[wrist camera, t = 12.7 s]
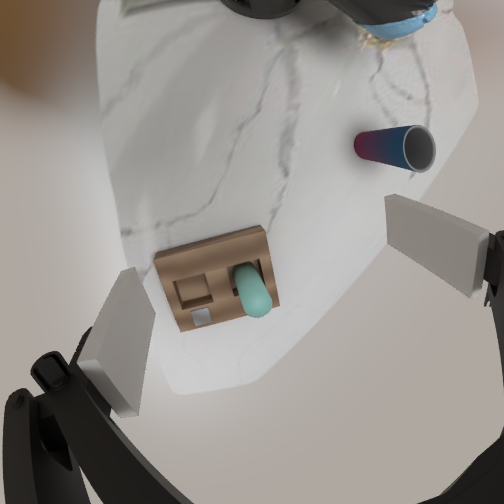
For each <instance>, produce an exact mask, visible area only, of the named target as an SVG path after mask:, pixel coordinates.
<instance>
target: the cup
mask: <svg viewBox="0 0 504 504" xmlns="http://www.w3.org/2000/svg"><path fill="white" fill-rule="evenodd" d="M354 148H355V151H356V153H357V154H358V156H359V157H361V158H363V159H367V160H371V161H375V162H380V163H384V164H388V165H392V166H396V167H400V168H404V169H408V170H412V171H415V172H420V173H421V172H425V171H427V170H428V169H430V167H431V166H432V164H433V162H434V160H435V155H436V147H435V142H434V139H433V137H432V135H431V133H430V132H429V131H428V130H427V129H426V128H425V127H423V126H421V125H412V126H404V127H396V128H389V129H382V130H375V131H369V132H363V133H360V134H359V135H358V136H357V137H356V139H355V142H354Z"/></svg>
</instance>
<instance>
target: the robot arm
mask: <svg viewBox="0 0 504 504" xmlns="http://www.w3.org/2000/svg"><path fill="white" fill-rule="evenodd" d="M301 1H302V0H222V2H223V3H224V4H225V5H226V6H228V7H229V8H230V9H232V10H233V11H235V12H237V13H239V14H242V15H245V16H248V17H252V18H258V19H273V18H279V17H282V16H285V15H287V14H289V13H291V12H292V11H293V10H294V9H295V8H296V7H297V6H298V5H299V4H300V2H301ZM326 1H328V2H329V3H331V4H332V5H334V6H335V7H337V8H338V9H339V10H341V11H342V12H343V13H345V14H346V15H348V16H349V17H350V18H352V19H353V21H354V22H355V23H356V24H357V25H359V26H362V27H363V28H365V29H366V30H367V31H369V32H370V33H371V34H372V35H374V36H376V37H378V38H382V39H396V38H401V37H404V36H406V35H409V34H411V33H413V32H415V31H417V30H419V29H421V28H422V27H423V26H424V24H425V23H428V22H430V21H431V20H432V19H433V18H434V17H435V15H436V13H437V6H436V3H435V2H436V1H438V0H326ZM384 199H385V210H386V224H387V243H388V244H389V245H390V246H392V247H394V248H395V249H397V250H398V251H400V252H402V253H403V254H405V255H406V256H408V257H409V258H411V259H413V260H414V261H416V262H417V263H419V264H420V265H422V266H423V267H425V268H426V269H428V270H429V271H431V272H432V273H434V274H435V275H437V276H438V277H440V278H441V279H443V280H444V281H446V282H447V283H449V284H450V285H452V286H453V287H455V288H456V289H457V290H459V291H460V292H461V293H463V294H464V295H465V296H467V297H468V298H470V299H471V298H473V297H474V296H476V295H477V294H479V293H480V292H481V289H482V284H483V279H484V280H486V281H487V282H489V283H488V288H487V293H486V298H485V302H484V306H486V305H487V302H488V301H490V305H489V306H490V307H491V308H492V312H493V317H494V322H495V326H496V331H497V338H498V344H499V350H500V357H501V364H502V374H503V384H504V230H503V231H499V232H497V233H496V234H495V235H493V234H491V233H489V230H486V229H484V228H482V227H480V226H477V225H475V224H473V223H470V222H468V221H466V220H463V219H461V218H458V217H456V216H453V215H451V214H448V213H446V212H444V211H441V210H438V209H435V208H433V207H430V206H428V205H425V204H422V203H420V202H417V201H414V200H411V199H409V198H406V197H403V196H400V195H397V194H393V195H389V196H385V197H384ZM155 315H156V313H155V311H154V309H153V307H152V305H151V303H150V300H149V298H148V296H147V294H146V292H145V289H144V287H143V285H142V282H141V280H140V278H139V275H138V273H137V271H136V268H135V267H133V268H130V269H127V270H123V271H121V273H120V275H119V276H118V278H117V280H116V282H115V284H114V286H113V287H112V289H111V291H110V293H109V295H108V297H107V299H106V301H105V303H104V305H103V307H102V309H101V311H100V313H99V315H98V317H97V319H96V321H95V323H94V325H93V327H90V328H89V329H88V330H87V331H86V332H85V333H84V335H83V336H82V338H81V340H80V342H79V345H78V346H77V349H76V352H75V353H74V355H73V357H72V359H71V362H70V364H69V365H68V364H67V362H66V361H65V359H64V358H63V356H62V355H61V354H60V353H59V352H58V351H52V352H49V353H46V354H44V355H43V356H41V357H40V358H39V359H38V360H37V361H36V362H35V363H34V365H33V366H32V368H31V376H32V377H33V378H34V380H35V381H36V382H37V384H38V385H39V386H40V387H41V389H42V390H43V391H44V392H45V393H44V394H41V395H39V396H36V397H33V396H32V394H31V393H30V392H29V391H28V390H27V389H26V388H21V389H18V390H16V391H15V392H13V393H12V394H11V395H10V396H9V398H8V400H7V402H6V405H5V412H4V425H3V480H4V494H5V503H6V504H91V503H90V500H89V497H88V494H87V491H86V488H85V484H84V481H83V478H82V474H81V471H80V468H81V469H82V471H83V473H84V474H85V476H86V478H87V479H88V481H89V482H90V484H91V486H92V487H93V489H94V490H95V492H96V493H97V495H98V496H99V498H100V499H101V501H102V502H103V504H194V503H192V502H191V501H190V500H189V499H188V498H187V497H185V496H184V495H183V494H182V493H181V492H180V491H179V490H178V489H176V488H175V487H174V486H173V485H172V484H171V483H170V482H169V481H168V480H167V479H165V477H164V476H163V475H162V474H161V473H160V472H159V471H158V470H157V469H156V468H154V466H153V465H152V464H150V462H149V461H148V460H147V459H146V458H145V457H144V456H143V455H142V454H141V453H140V451H139V450H138V449H137V448H136V447H135V446H134V445H133V444H132V443H131V441H130V440H129V439H128V438H127V437H126V436H125V434H124V433H123V432H122V431H121V429H120V428H119V427H118V426H117V425H116V423H115V422H114V421H113V420H112V419H111V418H110V412H111V408H112V409H113V410H114V411H115V413H116V414H117V415H118V416H119V417H120V418H124V417H133V416H138V415H139V408H140V401H141V394H142V387H143V380H144V374H145V368H146V362H147V356H148V351H149V345H150V340H151V335H152V329H153V324H154V319H155ZM79 466H80V467H79ZM418 504H504V427H503V430H502V433H501V435H500V438H499V439H498V440H497V441H496V442H494V443H493V444H492V445H491V446H490V447H489V448H487V449H486V450H485V451H484V452H483V453H482V454H480V455H479V456H478V457H477V458H476V459H475V460H474V461H473V462H472V463H471V465H470V466H469V467H468V468H467V469H466V470H465V471H464V472H463V473H462V474H461V475H460V476H459V477H458V478H457V479H456V480H455V481H454V482H453V483H452V484H451V485H450V486H449V487H448V488H447V489H446V490H444V491H443V492H442V493H441V494H440V495H439V496H437V497H435V498H432V499H429V500H426V501H423V502H421V503H418Z"/></svg>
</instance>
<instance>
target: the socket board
mask: <svg viewBox="0 0 504 504" xmlns="http://www.w3.org/2000/svg"><path fill="white" fill-rule="evenodd" d="M153 261H154V264H155V266H156V269H157V272H158V275H159V278H160V280H161V283H162V286H163V289H164V291H165V294H166V297H167V299H168V302H169V304H170V307H171V309H172V312H173V315H174V317H175V320H176V322H177V324H178V327H179V329H180V332H184V331H189V330H193V329H197V328H201V327H205V326H209V325H213V324H216V323H220V322H224V321H228V320H232V319H235V318H239V317H243V316H246V315H247V314H246V313H245V311H244V308H243V305H242V302H241V299H240V296H239V293H238V290H237V286H236V283H235V280H234V277H233V274H232V269H233V266H234V265H236V264H240V263H244V262H248V261H250V262H252V263H253V264H254V266H255V268H256V270H257V272H258V274H259V276H260V278H261V280H262V281H263V283H264V285H265V287H266V289H267V291H268V293H269V295H270V297H271V299H272V308H275V307H278V306H280V304H279V298H278V293H277V288H276V283H275V278H274V273H273V268H272V262H271V257H270V252H269V247H268V242H267V237H266V232H265V230H264V229H263V228H262V226H261V225H259V226H255V227H251V228H247V229H243V230H239V231H236V232H232V233H228V234H224V235H220V236H216V237H213V238H209V239H205V240H201V241H198V242H194V243H190V244H186V245H183V246H179V247H175V248H172V249H168V250H165V251H161V252H157V253H156V254H155V257H154V260H153Z"/></svg>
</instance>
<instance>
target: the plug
mask: <svg viewBox="0 0 504 504" xmlns="http://www.w3.org/2000/svg"><path fill="white" fill-rule="evenodd" d="M232 274H233V277H234V280H235V283H236V286H237V290H238V293H239V296H240V299H241V302H242V305H243V308H244V311H245V313H246V314H247V315H249V316H251V317H254V318H258V317H262V316H264V315H266V314H267V313H268V312H269V311H270V310H271V308H272V299H271V297H270V295H269V293H268V291H267V289H266V287H265V285H264V283H263V281H262V280H261V278H260V276H259V274H258V272H257V270H256V268H255V266H254V264H253V263H252V262H250V261H248V262H244V263H240V264H236V265H234V266H233V269H232Z"/></svg>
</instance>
